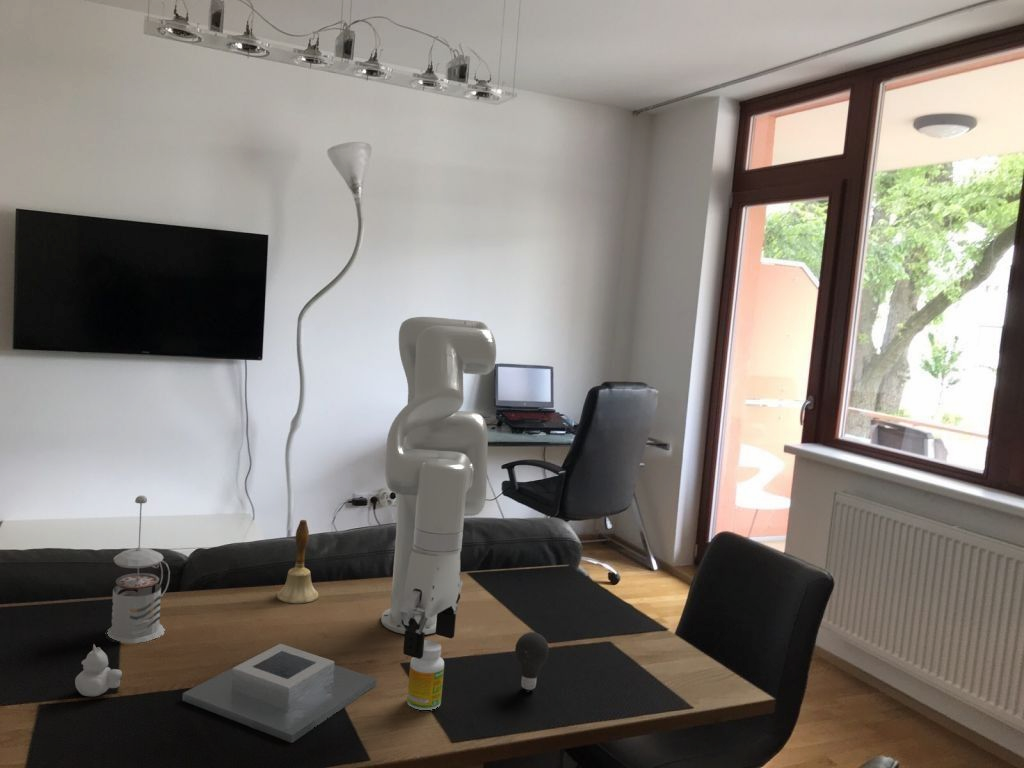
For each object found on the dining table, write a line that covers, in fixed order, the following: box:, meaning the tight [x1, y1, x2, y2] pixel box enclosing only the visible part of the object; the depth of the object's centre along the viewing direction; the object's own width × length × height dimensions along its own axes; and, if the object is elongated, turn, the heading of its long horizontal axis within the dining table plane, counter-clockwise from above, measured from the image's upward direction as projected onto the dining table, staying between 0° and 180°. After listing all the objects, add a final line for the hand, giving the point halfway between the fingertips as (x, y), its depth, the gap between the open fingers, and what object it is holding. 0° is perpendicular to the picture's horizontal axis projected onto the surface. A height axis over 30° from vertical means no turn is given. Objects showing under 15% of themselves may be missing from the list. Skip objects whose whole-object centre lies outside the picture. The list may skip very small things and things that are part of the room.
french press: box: [106, 495, 171, 643], centre depth 150 cm, size 10×12×25 cm
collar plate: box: [182, 643, 377, 744], centre depth 134 cm, size 21×21×5 cm
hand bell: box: [276, 519, 319, 604], centre depth 173 cm, size 8×8×16 cm
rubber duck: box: [74, 644, 123, 697], centre depth 128 cm, size 5×7×8 cm
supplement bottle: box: [406, 640, 445, 711], centre depth 134 cm, size 5×5×10 cm
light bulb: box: [514, 631, 550, 691], centre depth 142 cm, size 6×6×10 cm
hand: (429, 645), depth 133 cm, fingers open, 9 cm apart
